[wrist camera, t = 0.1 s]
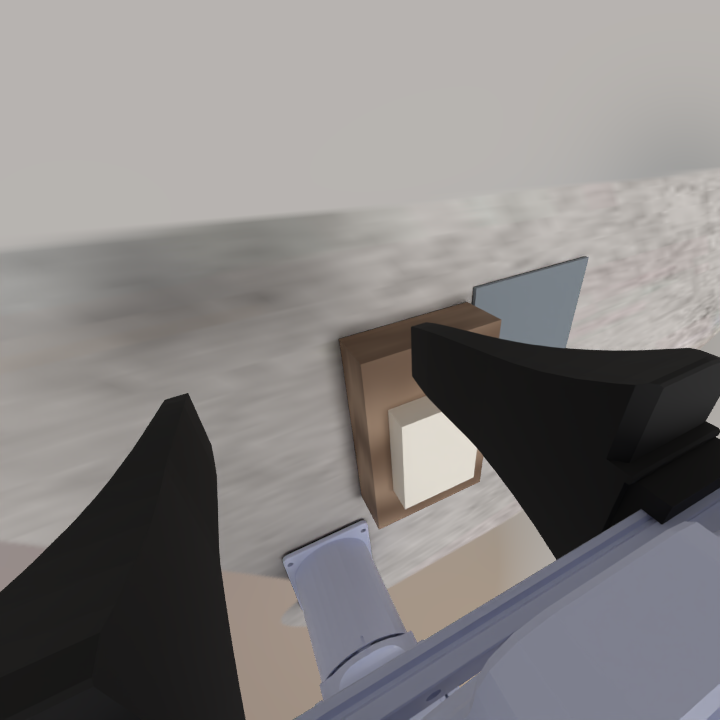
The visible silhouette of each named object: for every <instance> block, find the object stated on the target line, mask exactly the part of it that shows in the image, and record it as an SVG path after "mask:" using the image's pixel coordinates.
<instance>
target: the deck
mask: <svg viewBox="0 0 720 720" xmlns="http://www.w3.org/2000/svg"><path fill="white" fill-rule="evenodd" d="M501 321H502V320H501V319H499V318H497V317H495V316H493V315H491V314H490V313H488V312H486V311H484V310H482V309H480V308H478V307H476V306H474V305H472V304H470V303H468V302H465V303H462V304H458V305H455V306H451V307H448V308H444V309H441V310H438V311H434V312H431V313H427V314H424V315H420V316H417V317H413V318H410V319H406V320H403V321H400V322H396V323H393V324H389V325H386V326H382V327H379V328H375V329H372V330H368V331H365V332H361V333H358V334H355V335H351V336H348V337H344V338H341V339H339V342H340V349H341V356H342V363H343V370H344V377H345V384H346V391H347V398H348V405H349V411H350V418H351V425H352V432H353V439H354V446H355V453H356V460H357V467H358V474H359V481H360V488H361V495H362V498H363V500H364V502H365V503H366V505H367V507H368V509H369V511H370V513H371V515H372V517H373V519H374V521H375V523H376V525H377V526H378V528H379V529H381V528H383V527H385V526H388V525H390V524H392V523H394V522H396V521H398V520H400V519H402V518H404V517H406V516H409V515H411V514H413V513H415V512H417V511H419V510H421V509H423V508H425V507H427V506H430V505H432V504H434V503H436V502H438V501H440V500H442V499H444V498H446V497H448V496H451V495H453V494H455V493H457V492H459V491H461V490H463V489H465V488H467V487H469V486H472V485H474V484H476V483H478V482H480V476H481V468H482V461H483V455H482V454H481V452H480V451H479V450H478V449H477V453H476V461H475V469H474V477H473V478H471V479H469V480H467V481H465V482H463V483H460V484H458V485H456V486H454V487H452V488H450V489H448V490H445V491H443V492H441V493H439V494H437V495H435V496H433V497H431V498H428V499H426V500H424V501H422V502H420V503H418V504H416V505H414V506H411V507H409V508H407V509H405V508H404V507H403V505H402V503H401V502H400V500H399V499H398V497H397V495H396V494H395V492H394V491H393V477H392V462H391V447H390V432H389V417H388V410H389V409H392V408H395V407H398V406H400V405H403V404H406V403H408V402H411V401H414V400H416V399H419V398H422V397H425V396H426V395H425V394H424V392H423V391H422V390H421V388H420V387H419V386H418V384H417V383H416V381H415V380H414V378H413V377H412V358H411V327H412V326H415V325H418V324H422V323H425V322H430V323H436V324H441V325H445V326H450V327H454V328H458V329H462V330H466V331H470V332H474V333H478V334H482V335H486V336H491V337H495V338H499V336H500V328H501Z"/></svg>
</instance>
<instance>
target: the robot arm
mask: <svg viewBox="0 0 720 720" xmlns="http://www.w3.org/2000/svg"><path fill="white" fill-rule="evenodd" d="M411 358H412V377H413V378H414V380H415V381H416V383H417V384H418V386H419V387H420V388H421V390H422V391H423V392H424V394H425V395H426V396H427V397H428V398H429V400H430V401H431V402H432V403H433V404H434V405H435V406H436V407H437V408H438V409H439V410H440V411H441V412H442V413H443V414H444V415H445V416H446V417H447V418H448V419H449V420H450V421H451V422H452V423H453V424H454V425H455V426H456V427H457V428H458V429H459V430H460V431H461V432H462V433H463V434H464V435H465V436H466V437H467V438H468V439H469V440H470V441H471V442H472V443H473V444H474V446H475V447H476V448H477V449H478V450H479V451H480V452H481V454H482V455H483V456H484V457H485V459H486V460H487V461H488V462H489V464H490V465H491V466H492V467H493V469H494V470H495V471H496V473H497V474H498V475H499V477H500V478H501V479H502V481H503V482H504V483H505V485H506V486H507V487H508V489H509V490H510V491H511V493H512V494H513V495H514V497H515V498H516V500H517V501H518V502H519V504H520V505H521V507H522V508H523V510H524V511H525V513H526V514H527V515H528V517H529V518H530V520H531V521H532V523H533V524H534V526H535V527H536V529H537V530H538V532H539V533H540V535H541V536H542V538H543V539H544V541H545V542H546V544H547V546H548V547H549V549H550V550H551V552H552V553H553V555H554V557H555V558H556V561H554V562H553V563H551V564H549V565H548V566H546V567H544V568H543V569H541V570H540V571H538V572H536V573H535V574H533V575H531V576H530V577H528V578H526V579H525V580H523V581H521V582H520V583H518V584H516V585H515V586H513V587H511V588H510V589H508V590H506V591H505V592H503V593H502V594H500V595H498V596H497V597H495V598H493V599H492V600H490V601H488V602H487V603H485V604H483V605H482V606H480V607H478V608H477V609H475V610H473V611H472V612H470V613H468V614H467V615H465V616H463V617H462V618H460V619H459V620H457V621H455V622H453V623H452V624H450V625H449V626H447V627H445V628H444V629H442V630H440V631H439V632H437V633H435V634H434V635H432V636H430V637H429V638H427V639H425V640H421V641H419V642H418V643H417V641H416V639H415V637H414V635H413V633H412V631H409V632H407V631H406V629H405V627H404V625H403V623H402V621H401V619H400V617H399V614H398V613H397V610H396V608H395V606H394V604H393V602H392V600H391V598H390V595H389V593H388V591H387V589H386V587H385V584H384V582H383V580H382V578H381V576H380V574H379V572H378V569H377V567H376V565H375V563H374V561H373V559H372V553H371V546H370V539H369V531H368V525H367V523H366V521H365V520H362V521H359V522H357V523H355V524H353V525H351V526H349V527H346V528H344V529H342V530H340V531H338V532H336V533H333V534H331V535H329V536H327V537H325V538H322V539H320V540H318V541H316V542H314V543H312V544H309V545H307V546H305V547H303V548H301V549H299V550H296V551H294V552H292V553H290V554H288V555H286V556H285V557H284V558H283V564H284V567H285V569H286V572H287V574H288V577H289V579H290V582H291V584H292V587H293V589H294V591H295V594H296V597H297V599H298V602H299V604H300V607H301V609H302V610H303V612H304V616H305V620H306V624H307V628H308V631H309V635H310V639H311V642H312V646H313V651H314V654H315V658H316V662H317V666H318V669H319V673H320V677H321V681H322V683H321V684H320V688H321V693H322V696H323V700H324V701H322V700H321V701H320V702H318V703H317V704H316V705H315V706H314V707H313V708H311V709H310V710H308V711H306V712H305V713H303V714H301V715H300V716H298V717H297V718H295V719H293V720H720V439H718V438H716V436H718V435H719V433H720V429H719V428H718V427H716V426H714V425H712V424H710V423H708V422H706V419H707V418H708V416H709V414H710V412H711V411H712V409H713V407H714V406H715V404H716V402H717V400H718V398H719V397H720V357H717V356H715V355H712V354H709V353H707V352H704V351H701V350H697V349H692V348H679V349H660V350H638V351H608V350H583V349H568V348H557V347H548V346H541V345H533V344H526V343H520V342H515V341H510V340H505V339H500V338H495V337H491V336H486V335H482V334H478V333H474V332H470V331H466V330H462V329H458V328H454V327H450V326H445V325H441V324H436V323H430V322H425V323H422V324H418V325H415V326H412V327H411ZM230 634H231V633H230V627H229V621H228V614H227V608H226V601H225V594H224V587H223V580H222V573H221V566H220V554H219V533H218V498H217V474H216V468H215V462H214V456H213V451H212V445H211V443H210V441H209V439H208V436H207V434H206V432H205V430H204V427H203V425H202V423H201V421H200V419H199V416H198V414H197V412H196V410H195V407H194V405H193V403H192V401H191V399H190V396H189V394H188V393H186V394H183V395H180V396H176V397H173V398H170V399H166V400H164V402H163V403H162V405H161V406H160V408H159V410H158V411H157V413H156V414H155V416H154V417H153V419H152V421H151V422H150V424H149V425H148V427H147V428H146V430H145V432H144V433H143V435H142V436H141V438H140V439H139V441H138V442H137V444H136V445H135V447H134V448H133V450H132V451H131V452H130V454H129V455H128V456H127V458H126V459H125V460H124V462H123V463H122V464H121V466H120V467H119V468H118V470H117V471H116V472H115V474H114V475H113V476H112V478H111V479H110V480H109V482H108V483H107V484H106V485H105V487H104V488H103V489H102V490H101V491H100V493H99V494H98V495H97V496H96V497H95V499H94V500H93V501H92V502H91V503H90V504H89V505H88V506H87V507H86V509H85V510H84V511H83V512H82V513H81V514H80V515H79V516H78V518H77V519H76V520H75V521H74V522H73V523H72V524H71V525H70V526H69V527H68V528H67V529H66V530H65V531H64V532H63V533H62V534H61V535H60V536H59V537H58V538H57V539H56V540H55V541H54V542H53V543H52V544H51V545H50V546H49V547H48V548H47V549H46V550H45V551H44V552H43V553H42V554H41V555H40V556H39V557H38V558H37V559H36V560H35V561H34V562H33V563H32V564H31V565H30V566H28V567H27V568H26V569H25V570H24V571H23V572H22V573H21V574H20V575H19V576H18V577H17V578H15V580H13V581H12V582H11V583H10V584H9V585H8V586H7V587H5V588H4V589H3V590H2V591H1V592H0V720H245V714H244V709H243V703H242V698H241V692H240V687H239V681H238V675H237V669H236V664H235V658H234V653H233V646H232V641H231V635H230ZM479 672H480V673H479ZM478 673H479V674H478ZM476 674H477V675H476ZM474 675H476V676H475V677H473V676H474ZM471 677H473V678H472V679H471V680H470V681H468V682H467V683H466V684H464V685H463V686H462V687H461V688H459V686H460V685H461V684H463V683H464V682H465V681H467V680H469V679H470V678H471Z"/></svg>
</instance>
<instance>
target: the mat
mask: <svg viewBox="0 0 720 720" xmlns="http://www.w3.org/2000/svg"><path fill="white" fill-rule="evenodd" d="M588 258H589V257H582V258H578V259H574V260H571V261H567V262H564V263H560V264H556V265H553V266H549V267H545V268H542V269H538V270H535V271H531V272H527V273H524V274H520V275H517V276H513V277H509V278H506V279H502V280H498V281H495V282H491V283H488V284H484V285H480V286H477V287H474V290H473V302H472V305H474V306H476V307H478V308H480V309H482V310H484V311H486V312H488V313H490V314H491V315H493V316H495V317H497V318H499V319H501V320H502V321H501V328H500V336H499V338H500V339H505V340H510V341H515V342H520V343H526V344H533V345H541V346H548V347H557V348H566V344H567V340H568V336H569V332H570V329H571V325H572V321H573V317H574V313H575V309H576V305H577V301H578V297H579V293H580V289H581V285H582V282H583V278H584V274H585V270H586V266H587V262H588Z"/></svg>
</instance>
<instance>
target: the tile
mask: <svg viewBox="0 0 720 720" xmlns="http://www.w3.org/2000/svg"><path fill="white" fill-rule="evenodd" d="M388 417H389V432H390V447H391V462H392V477H393V491H394V492H395V494H396V495H397V497H398V499H399V500H400V502H401V503H402V505H403V507H404V508H405V509H407V508H409V507H411V506H414V505H416V504H418V503H420V502H422V501H424V500H426V499H428V498H431V497H433V496H435V495H437V494H439V493H441V492H443V491H445V490H448V489H450V488H452V487H454V486H456V485H458V484H460V483H463V482H465V481H467V480H469V479H471V478H473V477H474V469H475V461H476V453H477V448H476V447H475V446H474V444H473V443H472V442H471V441H470V440H469V439H468V438H467V437H466V436H465V435H464V434H463V433H462V432H461V431H460V430H459V429H458V428H457V427H456V426H455V425H454V424H453V423H452V422H451V421H450V420H449V419H448V418H447V417H446V416H445V415H444V414H443V413H442V412H441V411H440V410H439V409H438V408H437V407H436V406H435V405H434V404H433V403H432V402H431V401H430V400H429V398H428V397H427V396H425V397H422V398H419V399H416V400H414V401H411V402H408V403H406V404H403V405H400V406H398V407H395V408H392V409H389V410H388Z"/></svg>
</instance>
